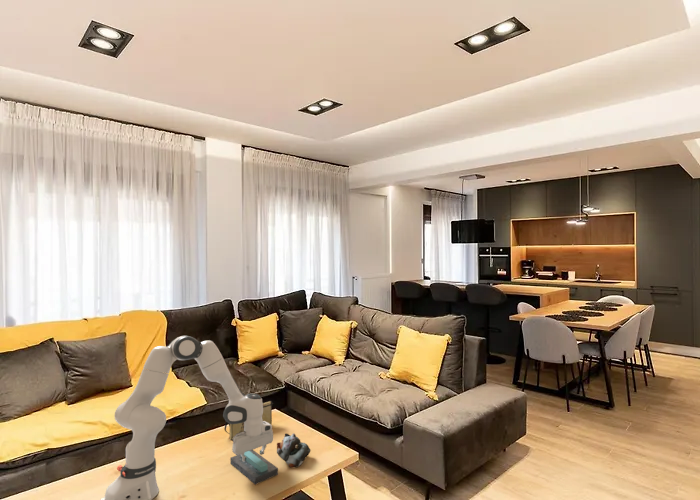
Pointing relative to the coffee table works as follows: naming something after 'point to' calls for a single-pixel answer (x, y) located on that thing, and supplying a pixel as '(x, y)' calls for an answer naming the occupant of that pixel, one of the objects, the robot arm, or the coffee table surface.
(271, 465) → the hole plate
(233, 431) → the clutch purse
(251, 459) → the peg strip
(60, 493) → the coffee table surface
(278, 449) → the lucky cat figurine
